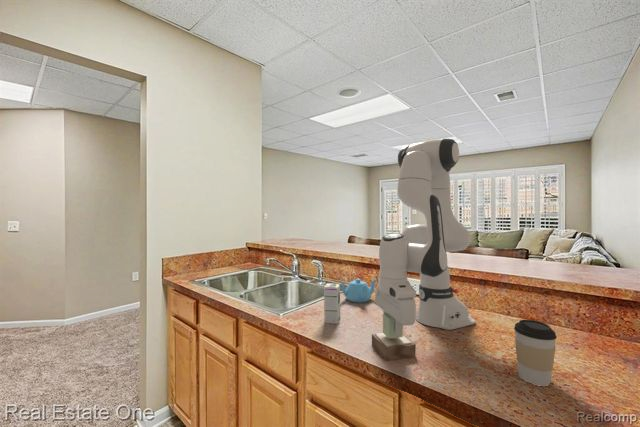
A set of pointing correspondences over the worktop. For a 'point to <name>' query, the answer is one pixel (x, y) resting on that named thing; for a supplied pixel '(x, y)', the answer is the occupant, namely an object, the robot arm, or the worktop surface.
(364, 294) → the teapot
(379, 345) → the plinth
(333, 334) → the worktop surface
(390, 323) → the sage block
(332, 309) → the syrup box
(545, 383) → the coffee cup
